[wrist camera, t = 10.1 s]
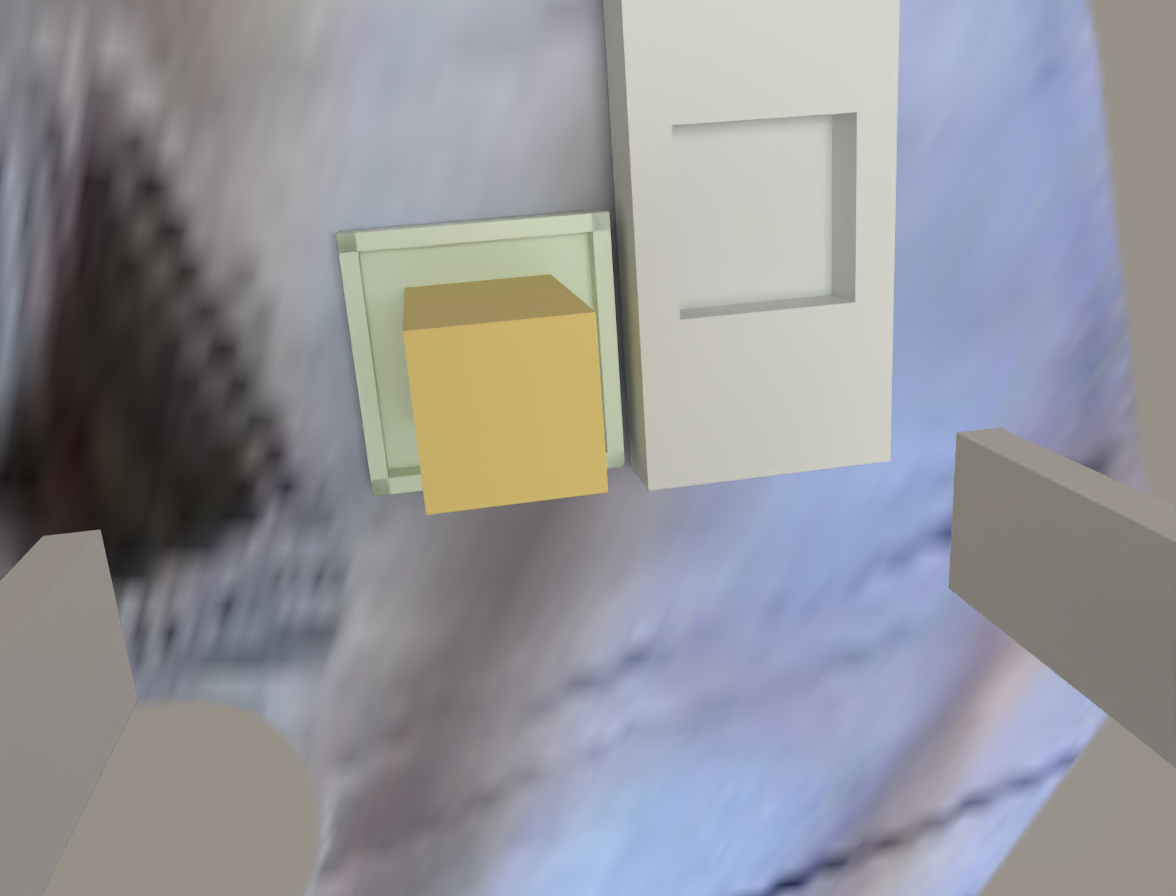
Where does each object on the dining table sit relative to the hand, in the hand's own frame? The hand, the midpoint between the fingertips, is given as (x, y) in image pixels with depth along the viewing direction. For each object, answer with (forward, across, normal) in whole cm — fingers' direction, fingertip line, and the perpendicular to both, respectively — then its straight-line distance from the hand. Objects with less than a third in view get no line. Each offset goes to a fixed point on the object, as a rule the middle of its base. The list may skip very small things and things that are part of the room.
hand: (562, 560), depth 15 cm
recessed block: (+21, +10, +3) cm, 23 cm away
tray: (+21, 0, -1) cm, 21 cm away
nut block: (+20, 0, -1) cm, 21 cm away
